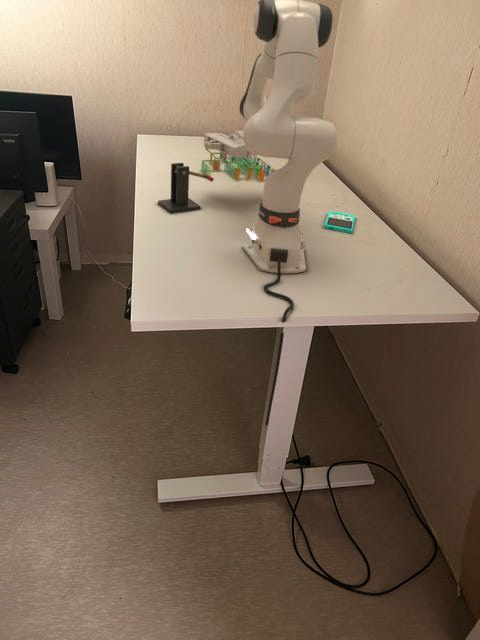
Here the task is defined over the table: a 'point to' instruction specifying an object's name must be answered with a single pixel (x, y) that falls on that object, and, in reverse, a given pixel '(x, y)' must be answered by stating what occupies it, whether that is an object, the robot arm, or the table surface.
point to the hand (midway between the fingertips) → (206, 145)
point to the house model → (237, 170)
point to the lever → (197, 174)
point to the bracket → (179, 191)
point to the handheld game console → (340, 222)
